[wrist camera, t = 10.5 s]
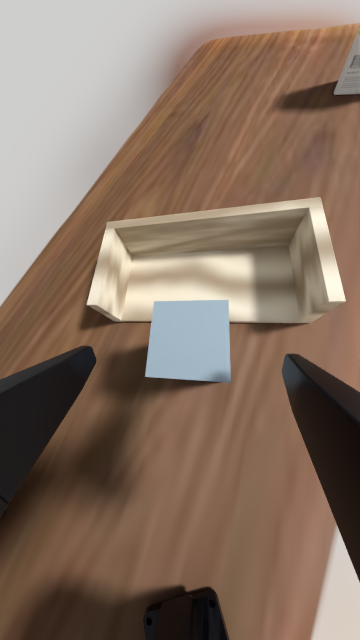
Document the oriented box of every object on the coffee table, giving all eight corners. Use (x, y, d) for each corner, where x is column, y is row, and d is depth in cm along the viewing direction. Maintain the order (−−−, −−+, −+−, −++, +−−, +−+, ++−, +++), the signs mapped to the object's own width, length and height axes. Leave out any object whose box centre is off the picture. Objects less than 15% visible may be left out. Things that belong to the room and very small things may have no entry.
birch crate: (309, 323, 20) (345, 301, 15) (115, 321, 25) (86, 304, 19) (295, 240, 24) (320, 197, 18) (128, 253, 29) (107, 222, 23)
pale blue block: (223, 381, 20) (230, 382, 10) (179, 378, 21) (145, 376, 11) (222, 338, 22) (228, 299, 11) (182, 337, 23) (154, 301, 12)
